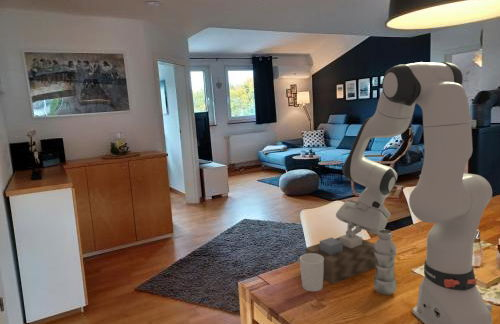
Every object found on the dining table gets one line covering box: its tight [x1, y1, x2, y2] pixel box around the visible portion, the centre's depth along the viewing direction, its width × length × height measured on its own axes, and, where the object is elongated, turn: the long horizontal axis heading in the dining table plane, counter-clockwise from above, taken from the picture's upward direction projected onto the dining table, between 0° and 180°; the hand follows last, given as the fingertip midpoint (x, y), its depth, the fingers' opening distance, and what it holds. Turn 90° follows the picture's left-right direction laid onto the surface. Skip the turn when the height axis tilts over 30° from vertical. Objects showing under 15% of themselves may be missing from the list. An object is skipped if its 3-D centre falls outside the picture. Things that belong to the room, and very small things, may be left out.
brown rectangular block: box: [305, 236, 376, 285], centre depth 131 cm, size 22×14×8 cm, turn 120°
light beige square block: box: [339, 234, 363, 249], centre depth 132 cm, size 6×6×4 cm
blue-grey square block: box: [319, 237, 343, 255], centre depth 128 cm, size 6×6×4 cm
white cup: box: [299, 253, 324, 292], centre depth 119 cm, size 8×8×10 cm
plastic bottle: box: [373, 229, 397, 296], centre depth 112 cm, size 6×7×20 cm
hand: (349, 235), depth 132 cm, fingers closed, pressing on light beige square block
